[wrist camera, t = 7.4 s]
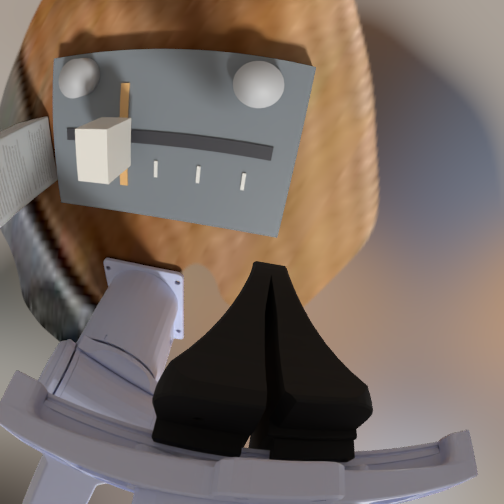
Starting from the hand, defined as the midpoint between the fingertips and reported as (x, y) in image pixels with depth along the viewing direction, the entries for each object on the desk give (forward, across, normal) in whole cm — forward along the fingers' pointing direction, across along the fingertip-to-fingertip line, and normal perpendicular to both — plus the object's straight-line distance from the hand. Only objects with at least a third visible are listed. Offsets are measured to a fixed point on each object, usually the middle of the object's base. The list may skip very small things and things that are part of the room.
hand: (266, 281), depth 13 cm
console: (+10, +8, -3) cm, 13 cm away
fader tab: (+8, +10, -3) cm, 14 cm away
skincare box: (+10, +20, -1) cm, 23 cm away
